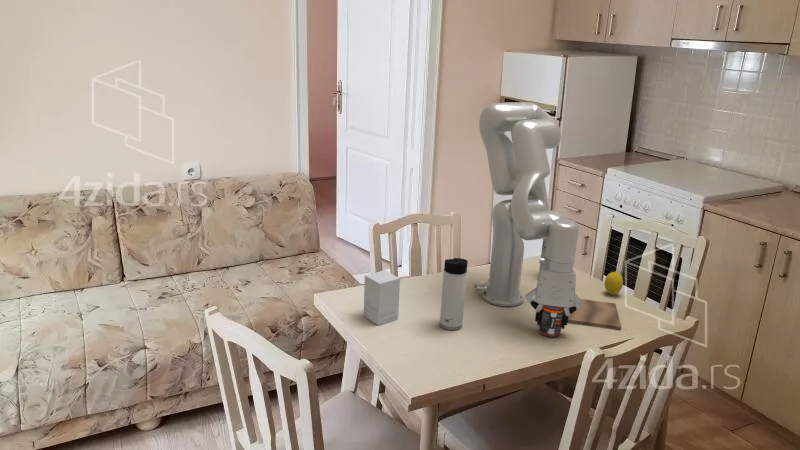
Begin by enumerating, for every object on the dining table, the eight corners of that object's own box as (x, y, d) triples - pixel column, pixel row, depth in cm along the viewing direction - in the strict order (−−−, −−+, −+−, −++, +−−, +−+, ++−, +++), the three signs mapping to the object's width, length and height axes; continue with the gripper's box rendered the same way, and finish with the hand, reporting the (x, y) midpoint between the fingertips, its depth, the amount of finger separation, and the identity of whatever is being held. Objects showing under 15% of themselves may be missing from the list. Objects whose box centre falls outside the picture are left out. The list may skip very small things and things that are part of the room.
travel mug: (447, 333, 174) (453, 265, 168) (435, 322, 180) (440, 256, 174) (466, 329, 177) (473, 262, 171) (454, 318, 183) (459, 253, 176)
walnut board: (563, 322, 184) (563, 319, 184) (561, 299, 199) (561, 296, 199) (620, 330, 181) (621, 326, 181) (614, 306, 196) (615, 303, 196)
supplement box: (398, 319, 181) (401, 278, 177) (377, 326, 176) (379, 283, 172) (383, 309, 186) (385, 269, 182) (362, 315, 182) (363, 274, 178)
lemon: (621, 299, 202) (625, 275, 199) (603, 297, 203) (607, 273, 200) (619, 292, 207) (623, 269, 204) (602, 290, 208) (605, 267, 205)
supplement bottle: (556, 340, 174) (561, 302, 170) (535, 333, 176) (540, 296, 173) (563, 332, 178) (568, 295, 175) (542, 325, 181) (547, 289, 178)
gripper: (525, 265, 169) (518, 326, 175) (593, 273, 166) (583, 335, 172) (526, 255, 176) (519, 315, 182) (591, 263, 173) (581, 323, 179)
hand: (550, 324), depth 177 cm, fingers closed on supplement bottle, 6 cm apart
